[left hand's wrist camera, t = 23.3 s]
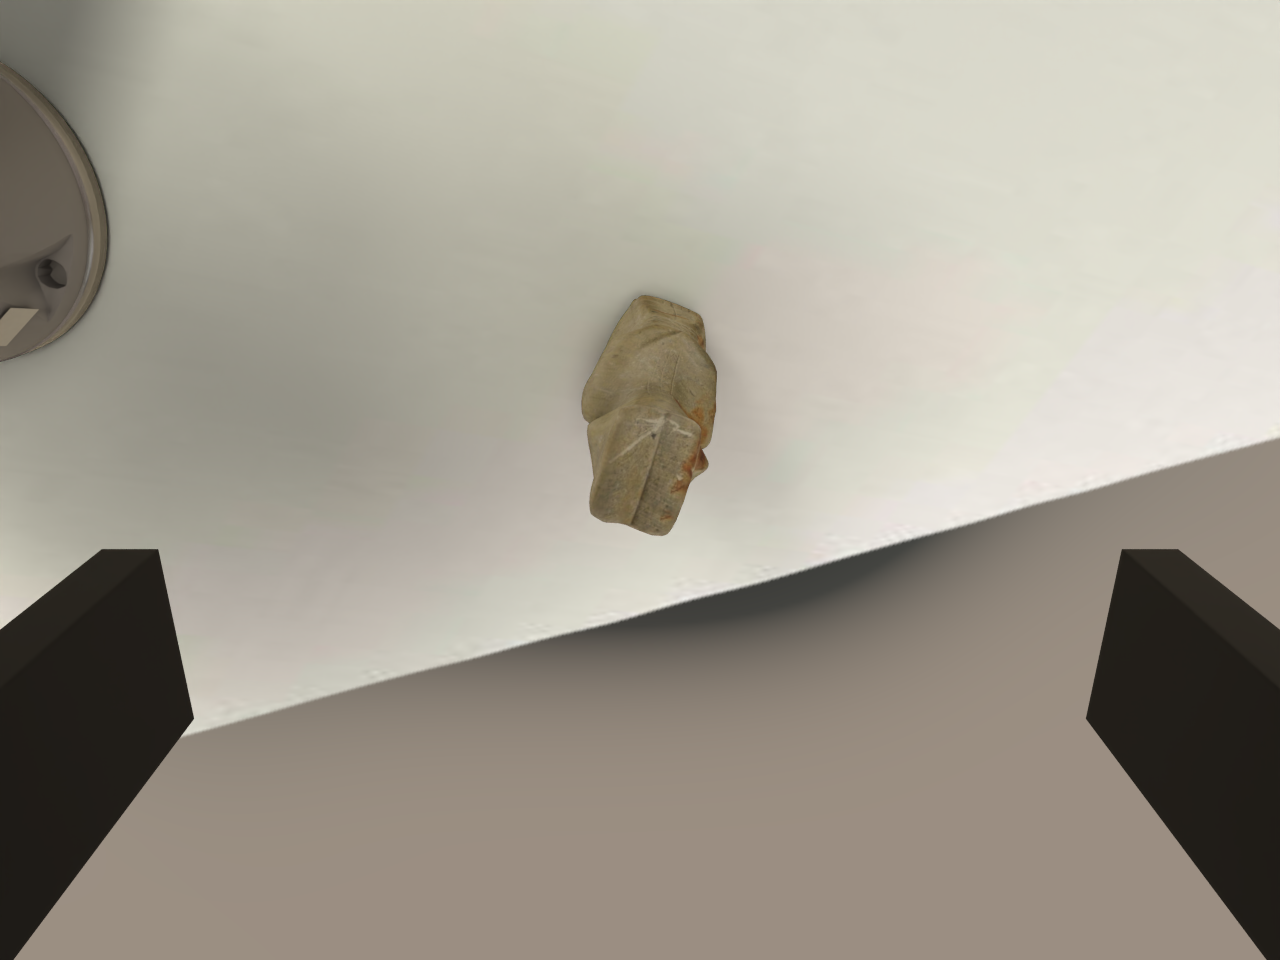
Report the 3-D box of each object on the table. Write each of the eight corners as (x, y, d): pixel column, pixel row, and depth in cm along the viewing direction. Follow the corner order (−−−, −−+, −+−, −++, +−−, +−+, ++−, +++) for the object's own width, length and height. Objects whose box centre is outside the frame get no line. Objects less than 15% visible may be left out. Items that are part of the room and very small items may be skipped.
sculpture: (570, 400, 48) (542, 514, 34) (621, 272, 46) (612, 337, 32) (672, 440, 49) (685, 566, 35) (727, 315, 47) (764, 398, 33)
